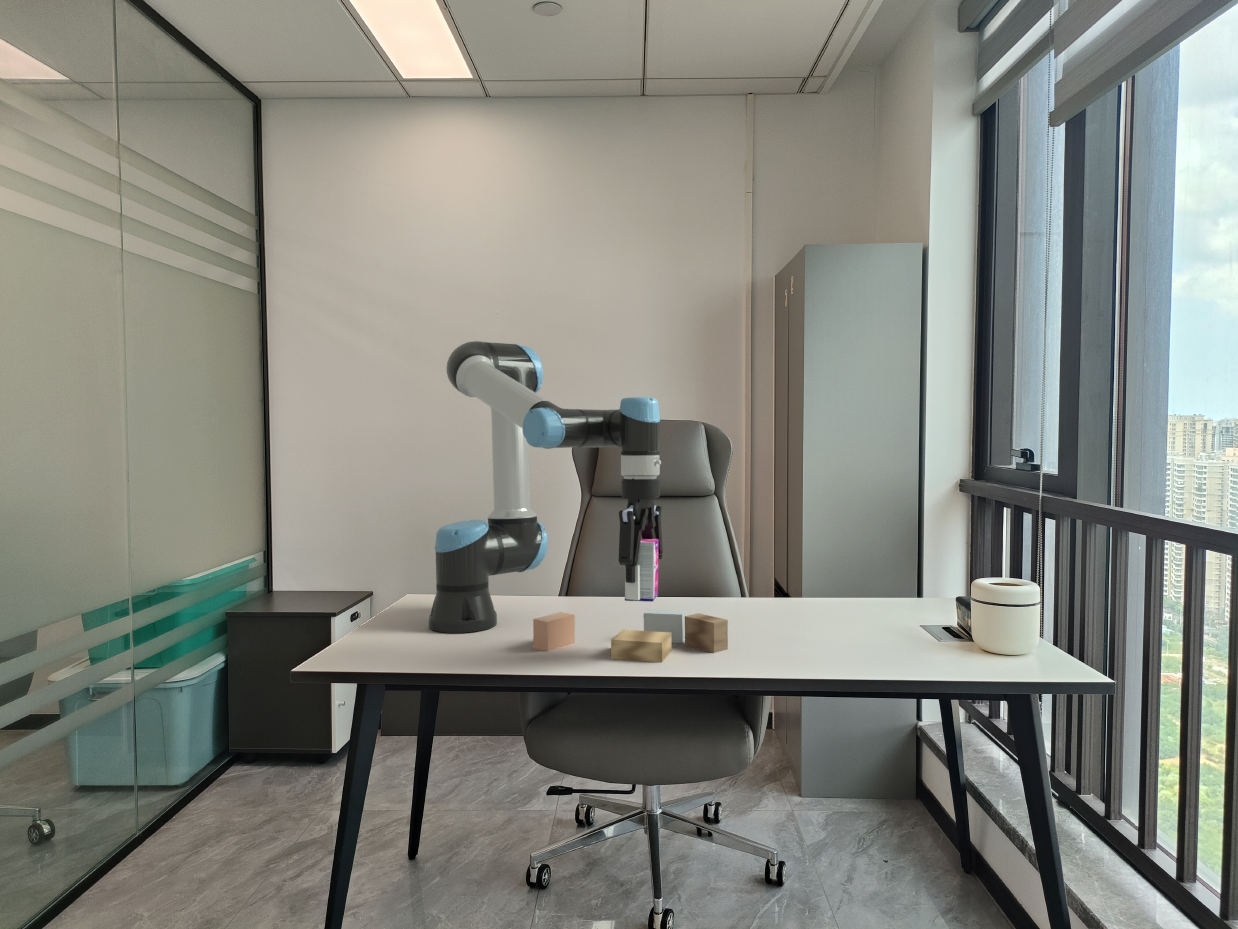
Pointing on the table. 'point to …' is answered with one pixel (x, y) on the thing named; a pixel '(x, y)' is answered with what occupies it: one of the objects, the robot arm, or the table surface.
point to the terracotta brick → (553, 631)
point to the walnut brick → (706, 632)
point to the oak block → (641, 645)
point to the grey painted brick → (666, 623)
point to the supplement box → (648, 570)
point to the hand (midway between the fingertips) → (641, 595)
